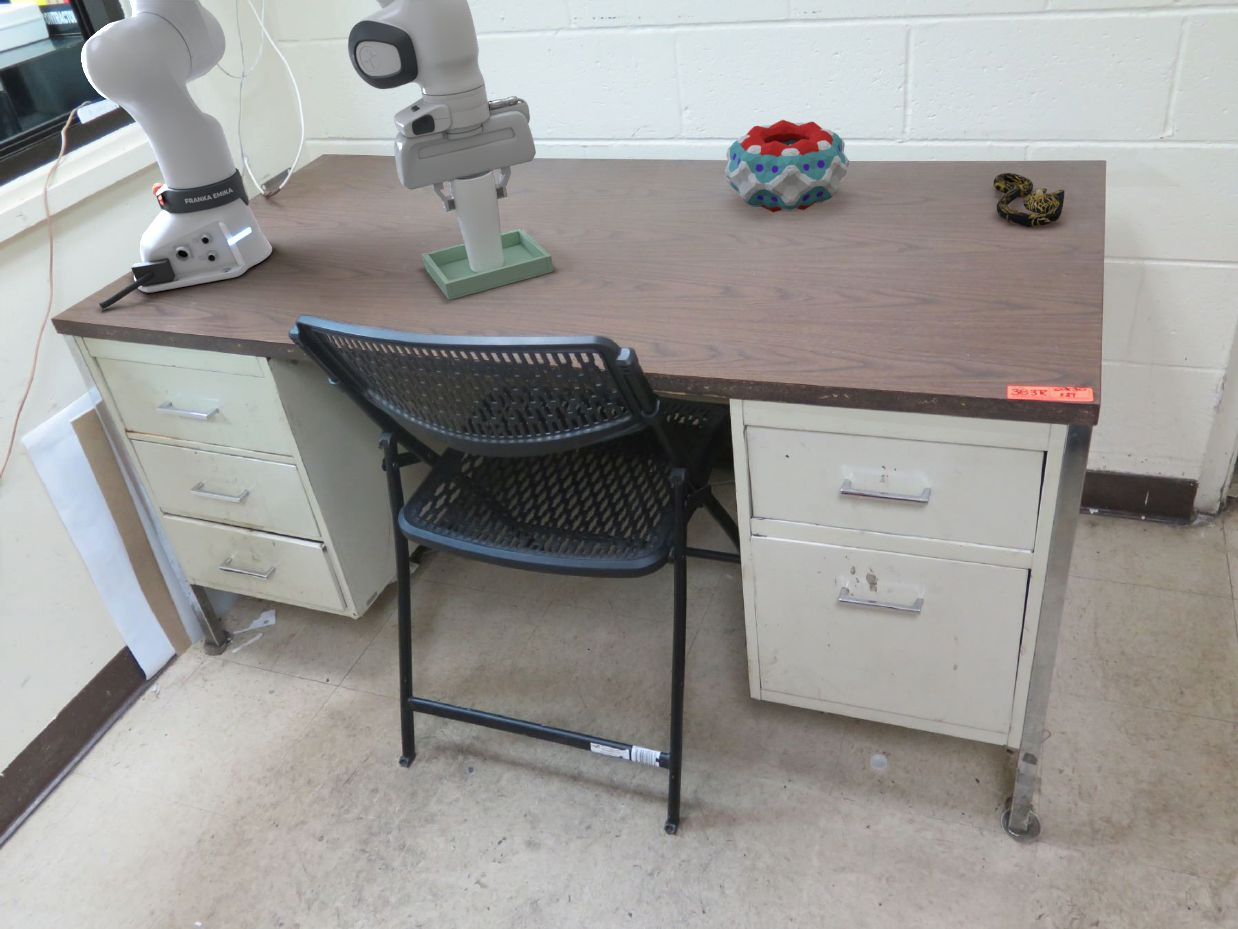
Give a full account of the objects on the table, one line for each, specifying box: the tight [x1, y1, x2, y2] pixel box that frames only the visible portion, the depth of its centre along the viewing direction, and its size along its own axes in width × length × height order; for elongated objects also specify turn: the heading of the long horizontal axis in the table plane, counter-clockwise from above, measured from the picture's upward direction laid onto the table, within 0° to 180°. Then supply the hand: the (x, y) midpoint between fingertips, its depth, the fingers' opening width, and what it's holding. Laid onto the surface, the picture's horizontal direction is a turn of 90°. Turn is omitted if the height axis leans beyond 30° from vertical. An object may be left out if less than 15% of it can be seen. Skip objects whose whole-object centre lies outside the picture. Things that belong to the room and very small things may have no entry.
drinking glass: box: [447, 170, 504, 273], centre depth 148 cm, size 7×7×15 cm
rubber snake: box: [993, 172, 1065, 228], centre depth 150 cm, size 18×5×10 cm
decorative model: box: [724, 119, 850, 213], centre depth 160 cm, size 19×14×20 cm
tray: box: [421, 228, 554, 301], centre depth 151 cm, size 17×14×3 cm
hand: (475, 203), depth 146 cm, fingers closed on drinking glass, 7 cm apart
